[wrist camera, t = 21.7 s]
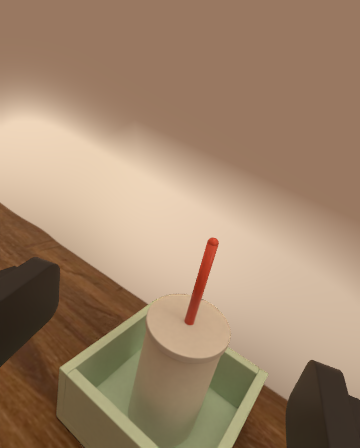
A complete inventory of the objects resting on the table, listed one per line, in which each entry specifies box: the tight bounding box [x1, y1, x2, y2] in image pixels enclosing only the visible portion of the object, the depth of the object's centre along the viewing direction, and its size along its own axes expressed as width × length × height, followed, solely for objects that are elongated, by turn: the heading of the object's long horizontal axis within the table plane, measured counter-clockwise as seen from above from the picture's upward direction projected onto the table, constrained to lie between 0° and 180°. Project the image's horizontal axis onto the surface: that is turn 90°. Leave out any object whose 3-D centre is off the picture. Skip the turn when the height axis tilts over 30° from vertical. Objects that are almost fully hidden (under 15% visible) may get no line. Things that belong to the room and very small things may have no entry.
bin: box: [56, 299, 268, 448], centre depth 25 cm, size 13×12×6 cm
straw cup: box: [128, 238, 231, 448], centre depth 22 cm, size 6×6×17 cm
